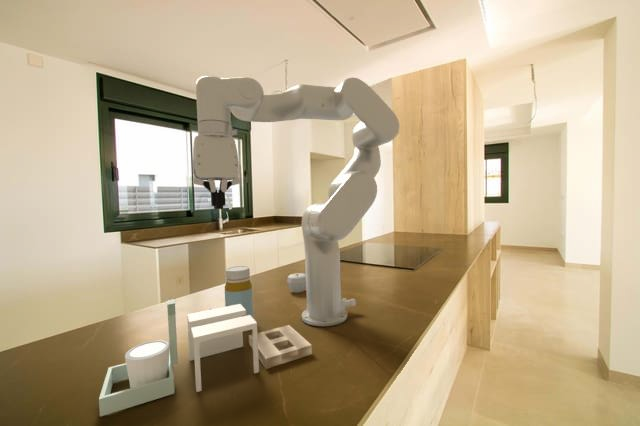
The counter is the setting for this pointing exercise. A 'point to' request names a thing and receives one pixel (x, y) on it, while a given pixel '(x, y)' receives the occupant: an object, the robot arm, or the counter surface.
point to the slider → (142, 392)
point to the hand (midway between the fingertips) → (218, 208)
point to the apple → (297, 282)
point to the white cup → (147, 362)
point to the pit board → (281, 346)
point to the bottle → (239, 288)
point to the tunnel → (219, 334)
